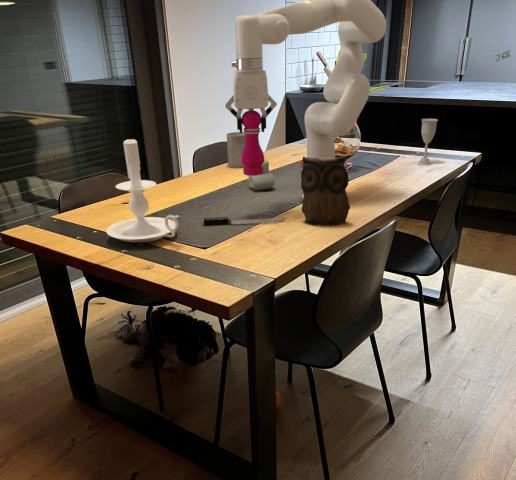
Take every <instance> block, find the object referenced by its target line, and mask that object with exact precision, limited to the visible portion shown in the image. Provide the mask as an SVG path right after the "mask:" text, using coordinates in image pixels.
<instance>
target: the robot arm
mask: <svg viewBox="0 0 516 480" xmlns="http://www.w3.org/2000/svg"><path fill="white" fill-rule="evenodd" d="M337 23H338V27H337V34H338V40H339V44H340V51H339V57H338V59H337V62H336V64H335V65H334V67H333V69H332V70H331V73H330V74H329V77H328V78H327V80H326V82H325V84H324V87H323V91H322V93H323V97H324V99H325V101H317V102H313V103H312V104H310V105H309V106H308V107H307V109H306V110H305V112H304V117H303V118H304V119H303V120H304V128H305V134H306V158H318V157H325V158H326V157H335V156H336V155H335V154H336V144H335V140H334V137H333V136H335V137H344V136H345V135H347V134H348V133H350V131H351V130H352V129H353V127H354V125H355V124H356V122H357V120H358V119H359V117H360V116H361V115H360V114H361V112H362V111H363V110H364V108H365V105H366V103H367V101H368V100H369V97H370V91H371V84H370V81H369V78H368V77H367V76H366V75H365V74H363V73H361V72H362V70H363V68H364V64H365V55H364V50H363V47H362V46H363V45H362V44H374V43H377V42H379V41H381V40H382V39H383V37H384V36H385V35H386V31H387V21H386V17H385V15H384V13H383V12H382V11H381V9H379V8H378V6H377V5H376V4H375V3H374V2H373V1H372V0H298V1H294V2H292V3H289V4H286V5H283V6H278V7H275V8H272V9H267V10H265V11H262V12H260V13H257V14H246V15H245V14H244V15H238V16H236V17H235V19H234V38H235V58H236V59H235V60H233V61H231V67H232V68H235V69H236V70H234V73H233V84H232V85H233V87H232V89H233V95H232V96H231V97H230V98H229V99H228V101H227V102H226V103H225V105H224V107H225V109H226V110H228V111H229V112H230V113H231V115H232V116H233V117H235V119H236V127H237V131H239V132H240V133H242V132H243V124H242V112H243V110H248V109H254V110H255V109H259V110H260V113H261V124H260V132H262V133H265V130H266V129H267V118H268V116H269V115H270V113H271V112H272V111H273V110H274V109H275V108H276V106H277V105H278V103H277V102H276V101H275V100H274V99H273V98H272V96H271V95H270V94H269V88H268V77H267V72H266V70H265V69H264V66H263V65H264V64H263V63H264V62H263V45H279V44H281V43H283V42H285V41H286V40H287V38H288V37H289V35H303V34H307V33H311V32H312V33H313V32H314V31H317V30H319V29H322V28H325V27H328V26H330V25H334V24H337ZM269 103H270V105H269ZM232 104H233V105H234V107H235V108H236V109H237V110H235V108H233V107H232ZM265 108H266V109H265ZM335 158H336V157H335ZM303 197H304V193H303V194H302V195H301V200H302V201H303Z"/></svg>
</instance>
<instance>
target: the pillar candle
mask: <svg viewBox="0 0 516 480" xmlns="http://www.w3.org/2000/svg"><path fill="white" fill-rule="evenodd" d="M245 143H246V137H245V133H244V131H242V133H240V131H239V130H237V131H236V132H235V131H234V132H228V133H226V149H227V166H228V168H232V169H239V168H240V169H241V168H242V169H243V168H244V167H245V166H244V165H243V163H242V161H241V157H242V153H243V150H244V147H245Z"/></svg>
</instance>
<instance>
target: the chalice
mask: <svg viewBox="0 0 516 480" xmlns="http://www.w3.org/2000/svg"><path fill="white" fill-rule="evenodd" d="M438 121H439V119H437V118H421V131H420V132H421V138H422V140H423V143H424V144H425V145H424V151H423V153H424V155H423V157H421V158H420V160H419V162H418V164H419V166H429V165H431V162H430V158H429V157H428V156H427V155H428V153H429V152H428V149H429V144H430V143H431V142H432V140H433V138H434V137H435V135H436V130H437V123H438Z"/></svg>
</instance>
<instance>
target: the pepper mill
mask: <svg viewBox="0 0 516 480" xmlns="http://www.w3.org/2000/svg"><path fill="white" fill-rule="evenodd" d="M261 117H262V115H261V114H260V112H259V111H257V110H255V109H247V110H246V111H245V112H243V114H241V118H242V126H243V127H244V128H243V132H244V133H245V137H246V143H245V147H244V150H243V153H242V157H241V161H242V163H243V165H244V166H245V167H242V171H243V175H245V176H248V177H249V176H256V175H261V174H263V167H261V165H262V164H263V162H264V160H265V154H264V151H263V150H262V147H261V145H260V139H259V136H260V135H259V134H260V133H261V127H260V126H261Z"/></svg>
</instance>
